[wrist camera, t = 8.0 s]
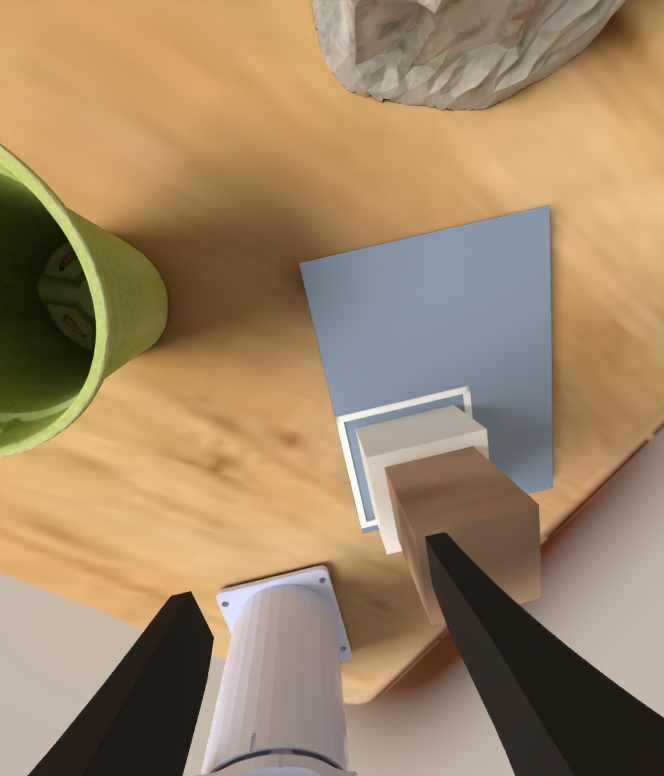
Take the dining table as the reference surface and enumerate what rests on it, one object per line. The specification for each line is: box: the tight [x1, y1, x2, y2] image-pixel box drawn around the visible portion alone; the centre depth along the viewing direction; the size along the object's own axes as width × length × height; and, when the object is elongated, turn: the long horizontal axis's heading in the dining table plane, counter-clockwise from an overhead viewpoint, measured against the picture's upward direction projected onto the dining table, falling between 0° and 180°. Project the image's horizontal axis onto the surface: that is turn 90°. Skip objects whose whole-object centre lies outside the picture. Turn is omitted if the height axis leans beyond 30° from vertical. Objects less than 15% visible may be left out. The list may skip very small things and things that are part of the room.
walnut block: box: [384, 446, 542, 626], centre depth 14 cm, size 4×4×4 cm
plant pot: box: [0, 144, 168, 458], centre depth 12 cm, size 9×9×9 cm
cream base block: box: [355, 405, 489, 554], centre depth 18 cm, size 6×6×4 cm
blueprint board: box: [299, 205, 553, 533], centre depth 18 cm, size 17×13×1 cm
